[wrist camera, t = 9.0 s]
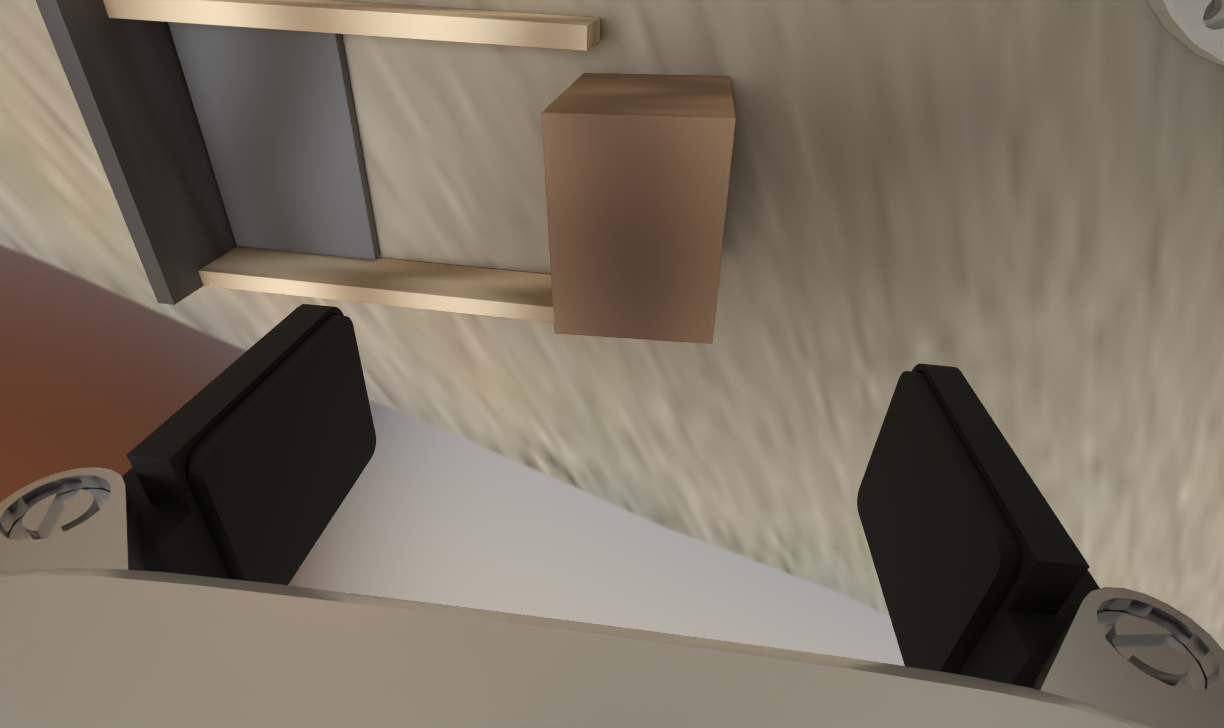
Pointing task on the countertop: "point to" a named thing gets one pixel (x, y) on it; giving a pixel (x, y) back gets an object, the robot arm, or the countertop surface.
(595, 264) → the walnut block
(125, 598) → the robot arm
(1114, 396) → the countertop surface
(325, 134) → the birch chute
